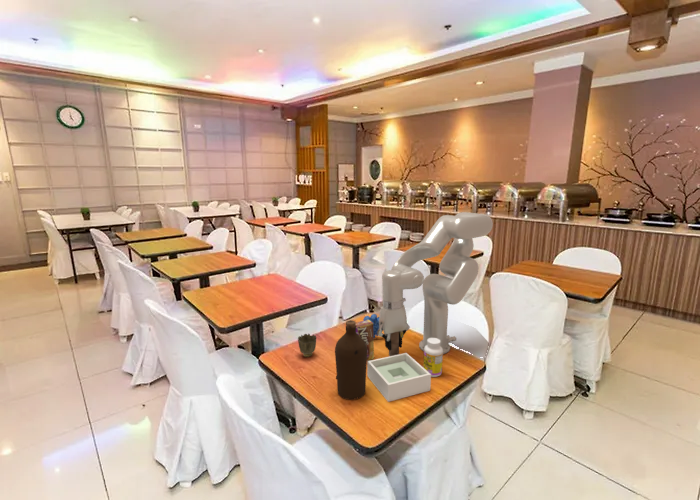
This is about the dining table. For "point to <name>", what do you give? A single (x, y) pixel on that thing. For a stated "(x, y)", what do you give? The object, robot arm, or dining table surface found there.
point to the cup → (307, 344)
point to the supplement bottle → (433, 357)
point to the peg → (394, 344)
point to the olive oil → (351, 363)
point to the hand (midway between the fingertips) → (393, 347)
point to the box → (398, 376)
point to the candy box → (366, 336)
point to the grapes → (375, 322)
